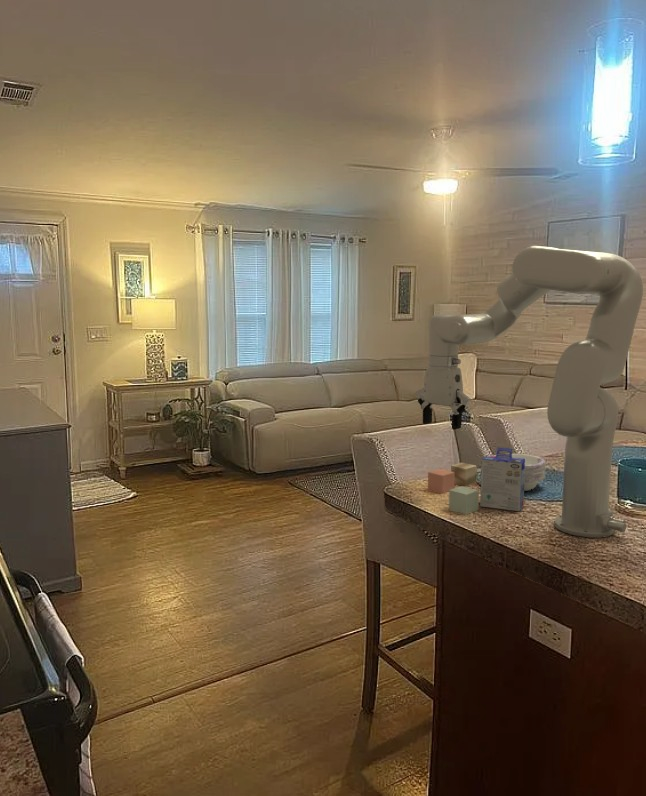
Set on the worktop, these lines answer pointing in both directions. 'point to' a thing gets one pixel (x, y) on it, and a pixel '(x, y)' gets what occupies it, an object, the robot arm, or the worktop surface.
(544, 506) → the worktop surface
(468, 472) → the maple block
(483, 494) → the ink cartridge box
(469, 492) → the sage block
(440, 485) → the coral block
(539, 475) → the paper bowls
